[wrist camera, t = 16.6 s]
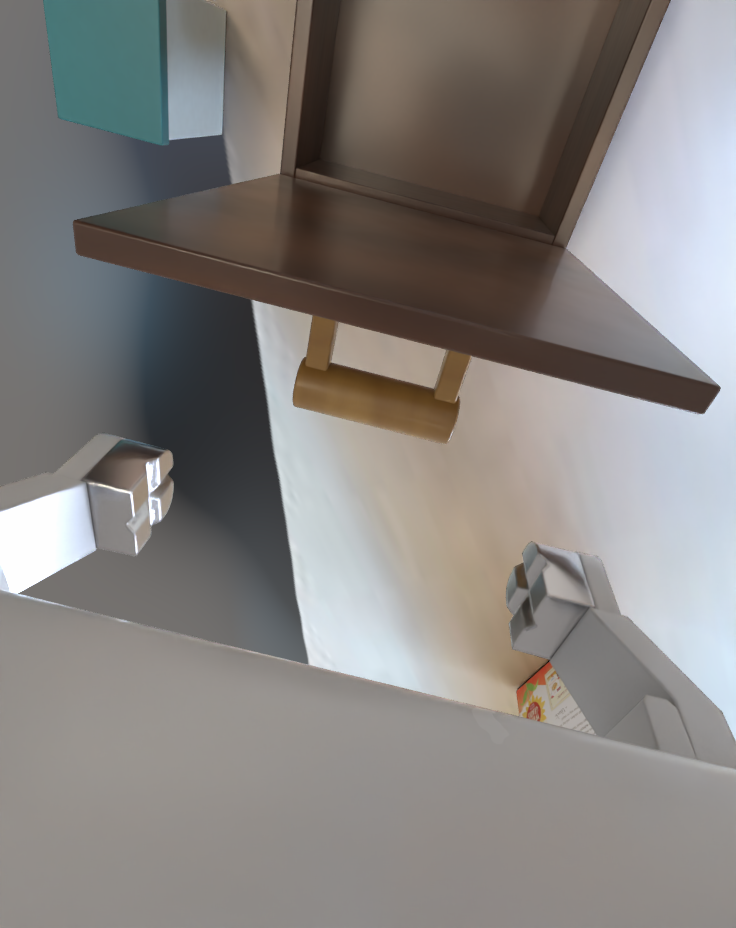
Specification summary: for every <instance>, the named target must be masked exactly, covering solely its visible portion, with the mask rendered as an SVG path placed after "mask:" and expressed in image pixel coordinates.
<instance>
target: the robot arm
mask: <svg viewBox="0 0 736 928" xmlns="http://www.w3.org/2000/svg"><path fill="white" fill-rule="evenodd" d="M172 466H173V456H172V453H171V452H170V451H169V450H166V449H163V448H159V447H155V446H152V445H148V444H144V443H141V442H137V441H133V440H130V439H124V438H121V437H118V436H114V435H110V434H107V433H101V434H97V435H96V436H95V437H94V438H92V439H91V440H90V441H89V442H88V443H87V444H86V445H85V446H83V447H82V448H81V449H80V450H79V451H78V452H77V453H76V454H75V455H74V456H72V457H71V458H70V459H69V460H68V461H67V462H66V463H65V464H64V465H62V466H61V467H60V468H59V469H58V470H57V471H56V472H55V473H54V474H51V473H47V472H45V473H42V474H39V475H35V476H32V477H29V478H25V479H22V480H19V481H15V482H12V483H9V484H5V485H2V486H0V928H736V741H735V739H734V737H733V735H732V732H731V730H730V728H729V726H728V724H727V721H726V719H725V717H724V715H723V713H722V711H721V710H720V709H719V708H718V707H717V706H716V705H715V704H714V703H713V702H712V701H711V700H710V699H709V698H708V697H707V696H706V695H705V694H704V693H703V692H702V691H701V690H700V689H699V688H698V687H697V686H696V685H695V684H694V683H693V682H692V681H691V680H690V679H689V678H688V677H687V676H686V675H685V674H684V673H683V672H682V671H681V670H680V669H679V668H678V667H677V666H676V665H675V664H674V663H673V662H672V661H671V660H670V659H669V658H668V657H667V656H666V655H665V654H664V653H663V652H662V651H661V650H660V649H659V648H658V647H657V646H656V645H655V644H654V643H653V642H652V641H651V640H650V639H649V638H648V637H647V636H646V635H645V634H644V633H643V632H642V631H641V630H640V629H639V628H638V627H637V626H636V625H635V624H634V623H633V622H632V621H631V620H630V619H629V618H628V617H626V616H622V615H621V613H620V611H619V608H618V605H617V602H616V599H615V596H614V594H613V591H612V588H611V585H610V582H609V580H608V577H607V574H606V571H605V568H604V566H603V563H602V560H601V559H600V558H599V557H598V556H594V555H589V554H585V553H580V552H573V551H569V550H565V549H561V548H557V547H553V546H549V545H545V544H541V543H537V542H533V541H531V542H530V543H529V544H528V545H527V546H526V548H525V549H524V551H523V553H522V555H523V561H524V562H523V563H521V564H519V565H517V566H515V567H514V569H513V571H512V573H511V575H510V577H509V580H508V584H507V588H506V604H507V608H508V609H509V610H510V612H511V613H512V614H513V617H512V619H511V621H510V622H509V629H510V636H511V644H512V649H513V650H517V651H520V652H524V653H527V654H531V655H535V656H538V657H542V658H546V659H549V660H550V661H549V662H550V663H551V665H552V666H553V668H554V670H555V671H556V673H557V674H558V676H559V677H560V679H561V680H562V682H563V684H564V685H565V687H566V688H567V690H568V691H569V693H570V694H571V696H572V698H573V699H574V701H575V702H576V704H577V705H578V707H579V708H580V710H581V712H582V713H583V715H584V716H585V718H586V719H587V721H588V722H589V724H590V726H591V727H592V729H593V730H594V732H595V733H596V735H593V734H589V733H585V732H581V731H577V730H573V729H569V728H565V727H561V726H556V725H552V724H548V723H544V722H540V721H536V720H532V719H528V718H524V717H520V716H516V715H511V714H507V713H503V712H499V711H495V710H491V709H487V708H483V707H479V706H475V705H471V704H467V703H462V702H458V701H454V700H450V699H446V698H442V697H438V696H434V695H430V694H426V693H421V692H417V691H413V690H409V689H405V688H401V687H397V686H393V685H389V684H385V683H381V682H376V681H372V680H368V679H364V678H360V677H356V676H352V675H348V674H344V673H340V672H336V671H331V670H327V669H323V668H319V667H315V666H311V665H307V664H303V663H298V662H294V661H290V660H286V659H282V658H278V657H274V656H270V655H266V654H262V653H257V652H254V651H250V650H245V649H241V648H237V647H233V646H229V645H225V644H221V643H216V642H213V641H209V640H204V639H200V638H196V637H192V636H188V635H184V634H179V633H176V632H172V631H167V630H163V629H159V628H155V627H151V626H147V625H143V624H139V623H135V622H131V621H126V620H123V619H118V618H114V617H110V616H106V615H102V614H98V613H94V612H90V611H86V610H81V609H78V608H73V607H69V606H65V605H61V604H57V603H53V602H49V601H44V600H41V599H37V598H32V597H28V596H24V595H20V594H17V593H19V592H21V591H23V590H24V589H26V588H28V587H30V586H32V585H33V584H35V583H37V582H39V581H41V580H43V579H44V578H46V577H48V576H50V575H52V574H53V573H55V572H57V571H59V570H61V569H62V568H64V567H66V566H68V565H70V564H72V563H73V562H75V561H77V560H79V559H81V558H83V557H84V556H86V555H88V554H90V553H92V552H93V551H95V550H96V548H100V549H104V550H109V551H113V552H118V553H123V554H127V555H131V556H137V554H138V553H139V552H140V550H141V549H142V547H143V546H144V545H145V543H146V542H147V540H148V539H149V537H150V536H151V525H153V524H155V523H158V522H160V521H161V520H162V519H163V517H164V516H165V514H166V513H167V511H168V509H169V506H170V503H171V501H172V495H173V480H172V479H171V478H170V476H169V475H168V472H169V471H170V469H171V467H172Z"/></svg>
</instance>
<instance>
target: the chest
mask: <svg viewBox="0 0 736 928" xmlns="http://www.w3.org/2000/svg"><path fill="white" fill-rule="evenodd" d="M670 1H671V0H297V2H296V12H295V23H294V34H293V44H292V55H291V65H290V76H289V86H288V97H287V108H286V118H285V129H284V139H283V150H282V160H281V171H280V174H281V175H285V176H289V177H293V178H297V179H301V180H304V181H308V182H312V183H316V184H320V185H324V186H327V187H331V188H335V189H339V190H343V191H346V192H350V193H354V194H358V195H362V196H366V197H369V198H373V199H377V200H381V201H385V202H389V203H392V204H396V205H400V206H404V207H408V208H411V209H415V210H419V211H423V212H427V213H431V214H434V215H438V216H442V217H446V218H450V219H454V220H457V221H461V222H465V223H469V224H473V225H477V226H480V227H484V228H488V229H492V230H496V231H499V232H503V233H507V234H511V235H515V236H519V237H522V238H526V239H530V240H534V241H538V242H542V243H545V244H549V245H553V246H557V247H561V248H565V249H566V247H567V244H568V242H569V240H570V237H571V235H572V233H573V230H574V228H575V225H576V223H577V221H578V218H579V216H580V214H581V211H582V209H583V206H584V204H585V202H586V199H587V197H588V195H589V192H590V190H591V188H592V185H593V183H594V180H595V178H596V176H597V173H598V171H599V169H600V166H601V164H602V162H603V159H604V157H605V154H606V152H607V150H608V147H609V145H610V143H611V140H612V138H613V136H614V133H615V131H616V128H617V126H618V124H619V121H620V119H621V117H622V114H623V112H624V110H625V107H626V105H627V102H628V100H629V98H630V95H631V93H632V91H633V88H634V86H635V84H636V81H637V79H638V76H639V74H640V72H641V69H642V67H643V65H644V62H645V60H646V57H647V55H648V53H649V50H650V48H651V46H652V43H653V41H654V39H655V36H656V34H657V31H658V29H659V27H660V24H661V22H662V20H663V17H664V15H665V13H666V10H667V8H668V5H669V3H670Z"/></svg>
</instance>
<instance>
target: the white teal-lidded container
mask: <svg viewBox="0 0 736 928" xmlns="http://www.w3.org/2000/svg"><path fill="white" fill-rule="evenodd" d="M43 3H44V11H45V19H46V26H47V34H48V42H49V49H50V57H51V65H52V73H53V80H54V88H55V97H56V104H57V112H58V117H59V118H60V119H63V120H66V121H70V122H74V123H78V124H82V125H86V126H90V127H93V128H97V129H101V130H104V131H108V132H112V133H116V134H120V135H124V136H127V137H131V138H135V139H139V140H143V141H146V142H150V143H154V144H158V145H168V144H169V140H175V139H184V138H194V137H204V136H213V135H222V124H223V94H224V63H225V33H226V10H225V9H223V8H221V7H219V6H217V5H214V4H212V3H210V2H208V1H206V0H43Z"/></svg>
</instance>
